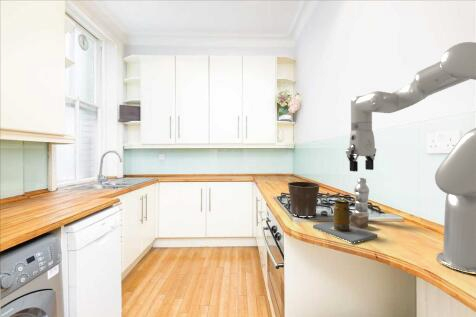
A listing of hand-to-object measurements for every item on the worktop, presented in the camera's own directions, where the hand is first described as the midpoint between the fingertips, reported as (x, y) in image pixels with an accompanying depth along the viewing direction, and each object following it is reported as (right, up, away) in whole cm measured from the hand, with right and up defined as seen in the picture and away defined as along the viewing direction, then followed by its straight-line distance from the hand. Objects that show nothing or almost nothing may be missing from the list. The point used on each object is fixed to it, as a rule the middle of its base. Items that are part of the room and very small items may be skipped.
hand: (361, 170), depth 100 cm
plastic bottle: (+9, -25, +18) cm, 32 cm away
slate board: (-6, -26, +3) cm, 27 cm away
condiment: (-6, -25, +3) cm, 26 cm away
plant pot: (-16, -25, +28) cm, 40 cm away
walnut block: (+4, -25, +10) cm, 27 cm away
